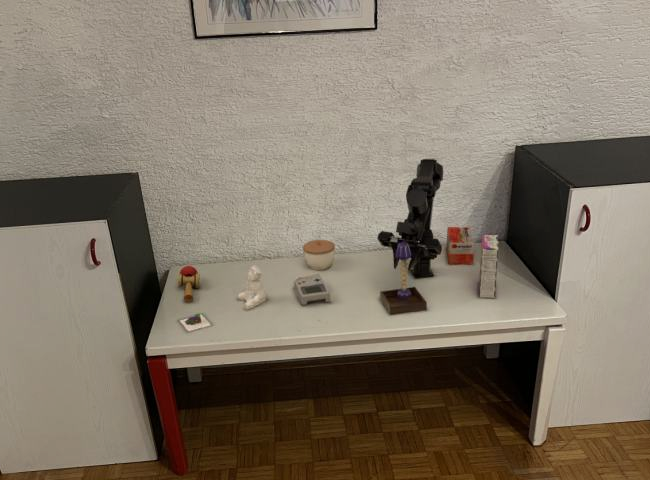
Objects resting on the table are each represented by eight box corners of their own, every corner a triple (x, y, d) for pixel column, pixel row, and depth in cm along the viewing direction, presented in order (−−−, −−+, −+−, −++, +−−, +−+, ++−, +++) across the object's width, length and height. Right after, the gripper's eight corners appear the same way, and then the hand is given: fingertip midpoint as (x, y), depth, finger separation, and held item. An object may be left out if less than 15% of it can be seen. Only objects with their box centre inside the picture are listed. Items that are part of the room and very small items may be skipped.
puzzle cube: (198, 318, 209) (197, 311, 208) (201, 322, 207) (200, 315, 206) (184, 322, 207) (183, 315, 206) (188, 325, 205) (186, 318, 204)
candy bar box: (478, 282, 221) (481, 234, 213) (494, 283, 220) (498, 234, 212) (478, 298, 211) (481, 248, 203) (495, 299, 210) (499, 248, 202)
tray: (379, 298, 214) (379, 291, 213) (414, 294, 216) (414, 286, 215) (390, 315, 205) (390, 307, 204) (426, 310, 206) (426, 302, 205)
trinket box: (316, 258, 244) (315, 233, 240) (341, 264, 239) (340, 238, 234) (298, 269, 237) (296, 243, 232) (323, 275, 231) (322, 249, 227)
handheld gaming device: (320, 283, 226) (319, 273, 224) (330, 303, 214) (330, 291, 212) (293, 288, 225) (292, 277, 223) (302, 307, 212) (301, 296, 210)
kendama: (204, 304, 220) (203, 274, 234) (198, 288, 216) (197, 258, 230) (181, 310, 220) (180, 280, 234) (174, 294, 216) (174, 264, 230)
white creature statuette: (237, 298, 220) (232, 263, 214) (262, 292, 223) (259, 258, 216) (246, 310, 212) (242, 274, 206) (272, 304, 215) (269, 268, 209)
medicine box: (473, 264, 233) (474, 242, 229) (448, 265, 234) (449, 242, 230) (469, 247, 246) (470, 226, 242) (445, 247, 247) (446, 226, 243)
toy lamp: (400, 300, 206) (401, 248, 198) (392, 294, 210) (392, 242, 201) (414, 295, 208) (415, 244, 200) (405, 290, 212) (406, 239, 203)
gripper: (379, 205, 203) (364, 254, 200) (440, 212, 195) (424, 264, 192) (390, 221, 213) (375, 268, 210) (448, 229, 205) (434, 278, 202)
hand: (401, 269), depth 203 cm, fingers closed on toy lamp, 4 cm apart
